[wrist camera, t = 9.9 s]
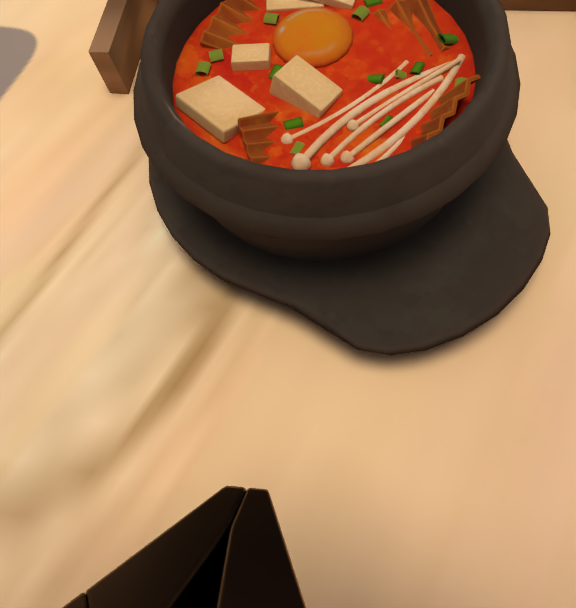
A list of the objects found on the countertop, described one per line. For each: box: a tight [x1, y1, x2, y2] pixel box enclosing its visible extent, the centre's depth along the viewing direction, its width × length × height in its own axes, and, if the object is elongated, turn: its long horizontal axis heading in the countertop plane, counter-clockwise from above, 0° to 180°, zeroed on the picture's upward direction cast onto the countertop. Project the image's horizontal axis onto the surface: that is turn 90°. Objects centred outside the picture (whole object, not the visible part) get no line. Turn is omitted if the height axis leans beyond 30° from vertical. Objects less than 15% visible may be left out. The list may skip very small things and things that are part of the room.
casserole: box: [134, 0, 550, 355], centre depth 24 cm, size 25×19×8 cm
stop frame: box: [89, 0, 576, 93], centre depth 29 cm, size 9×30×3 cm, turn 83°
